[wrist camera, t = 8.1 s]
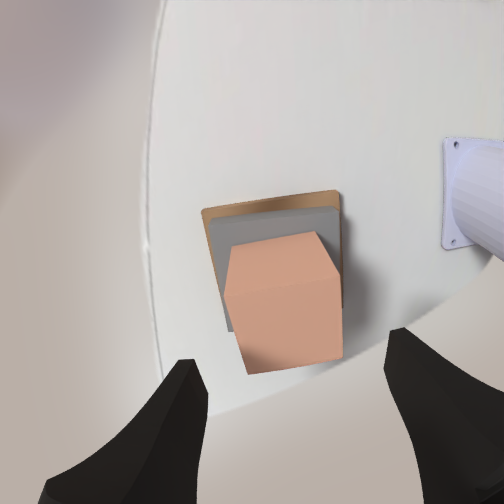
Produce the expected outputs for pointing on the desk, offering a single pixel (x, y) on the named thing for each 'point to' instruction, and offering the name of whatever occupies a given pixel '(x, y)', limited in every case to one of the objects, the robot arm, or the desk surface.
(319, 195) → the tower base
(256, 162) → the desk surface
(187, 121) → the desk surface
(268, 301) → the terracotta block
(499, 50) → the desk surface
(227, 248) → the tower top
